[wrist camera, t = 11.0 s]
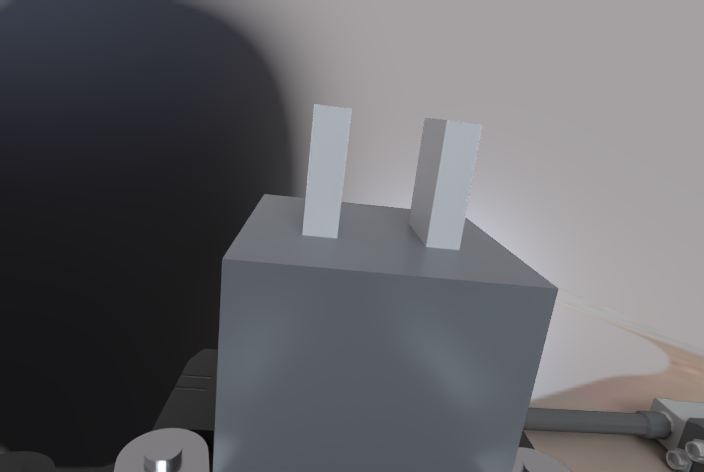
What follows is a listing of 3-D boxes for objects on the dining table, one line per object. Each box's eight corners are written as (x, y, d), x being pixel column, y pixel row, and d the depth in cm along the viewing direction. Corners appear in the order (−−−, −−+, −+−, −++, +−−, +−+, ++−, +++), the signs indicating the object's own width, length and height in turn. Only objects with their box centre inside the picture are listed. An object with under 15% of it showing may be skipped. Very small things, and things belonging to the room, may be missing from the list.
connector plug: (387, 614, 12) (478, 124, 9) (418, 844, 8) (595, 137, 5) (236, 611, 12) (270, 99, 9) (195, 851, 8) (230, 93, 5)
